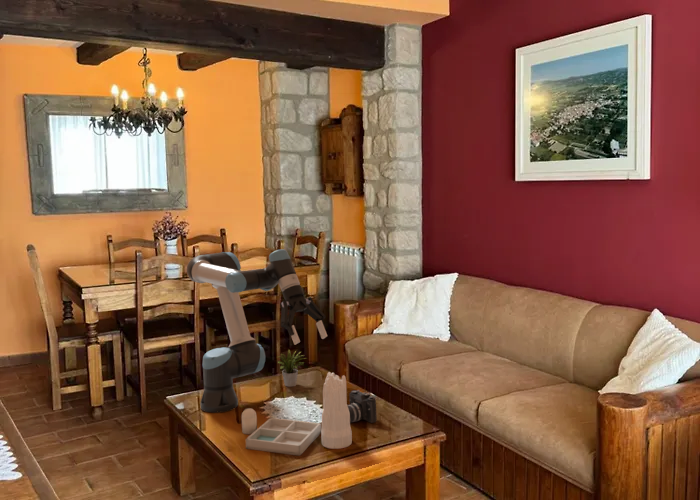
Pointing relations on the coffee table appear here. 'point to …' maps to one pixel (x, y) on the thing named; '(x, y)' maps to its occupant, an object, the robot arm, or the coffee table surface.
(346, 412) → the decorative vase
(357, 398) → the camera
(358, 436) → the coffee table surface
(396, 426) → the coffee table surface
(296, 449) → the divided tray
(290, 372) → the house plant
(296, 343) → the robot arm
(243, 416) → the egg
